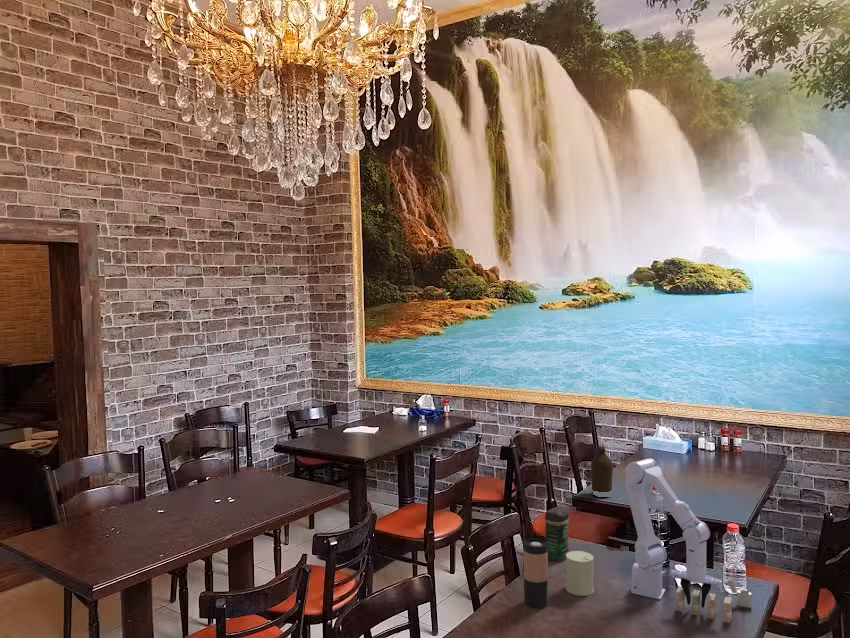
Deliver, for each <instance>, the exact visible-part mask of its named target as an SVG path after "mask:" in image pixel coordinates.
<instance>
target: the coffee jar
mask: <svg viewBox="0 0 850 638" xmlns="http://www.w3.org/2000/svg"><path fill="white" fill-rule="evenodd" d="M544 521H545V535H544V536H545V537H544V542H545V543H547V551H548V560H550V561H553V562H554V561H557V562H561V561H563V560H565V559H566V554H567V553H568V552H570V551H569V523H570V522H569V521H570V513H569V510H568V509H567V508H565V507H562V506H556V507H553V508H551V509H549V510H547V511H545V515H544Z"/></svg>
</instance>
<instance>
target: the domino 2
mask: <svg viewBox="0 0 850 638" xmlns="http://www.w3.org/2000/svg"><path fill="white" fill-rule="evenodd" d="M700 611H701V590H697V589H693V591H692V593H691V615H695V616H699V614H700Z"/></svg>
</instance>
